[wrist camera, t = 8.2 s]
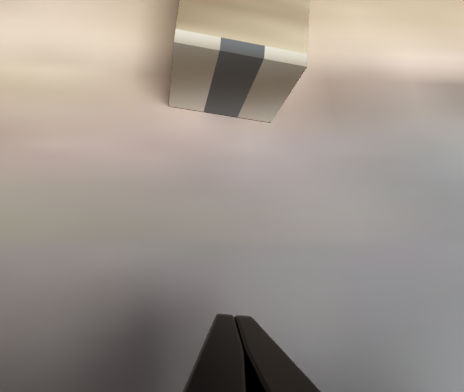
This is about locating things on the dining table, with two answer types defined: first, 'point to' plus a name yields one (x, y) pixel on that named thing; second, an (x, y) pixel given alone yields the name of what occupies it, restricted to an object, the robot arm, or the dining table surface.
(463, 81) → the dining table surface
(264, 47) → the maple block
